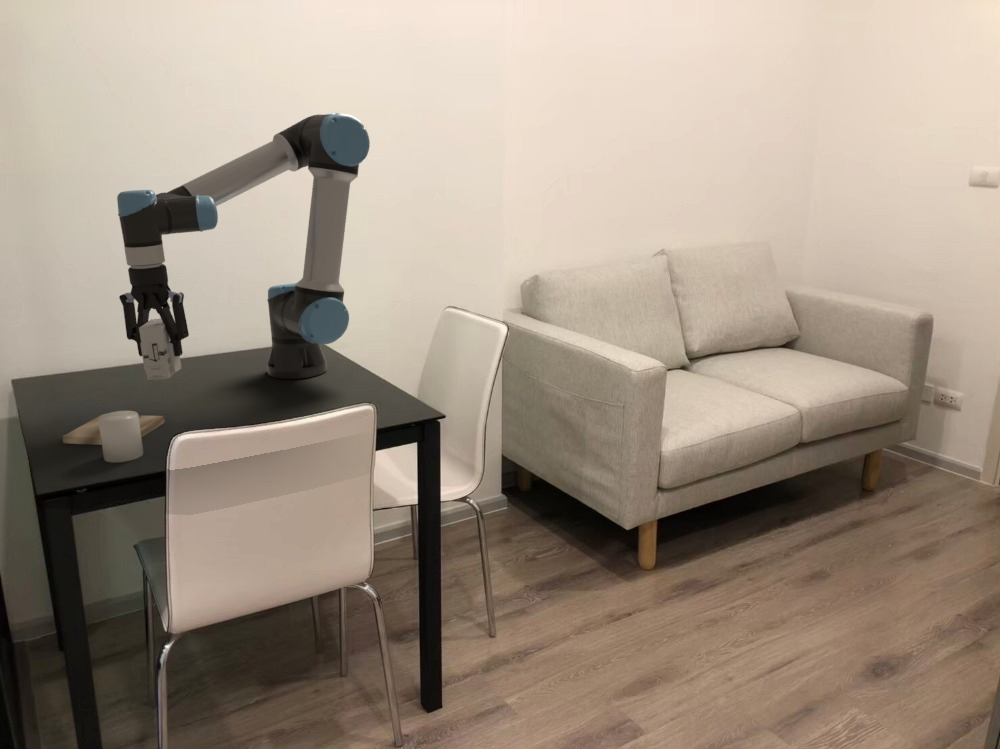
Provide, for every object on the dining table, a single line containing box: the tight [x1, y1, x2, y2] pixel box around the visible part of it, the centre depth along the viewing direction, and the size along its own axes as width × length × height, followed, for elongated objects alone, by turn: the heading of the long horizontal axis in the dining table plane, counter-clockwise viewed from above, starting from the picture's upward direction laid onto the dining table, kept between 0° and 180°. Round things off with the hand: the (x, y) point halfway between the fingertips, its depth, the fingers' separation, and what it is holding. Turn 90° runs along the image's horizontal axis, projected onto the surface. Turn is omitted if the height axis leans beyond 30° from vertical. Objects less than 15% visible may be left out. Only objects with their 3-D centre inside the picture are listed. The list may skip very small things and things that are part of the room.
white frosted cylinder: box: [98, 410, 144, 463], centre depth 160 cm, size 7×7×8 cm
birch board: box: [62, 413, 165, 446], centre depth 173 cm, size 14×14×2 cm
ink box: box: [139, 318, 176, 381], centre depth 181 cm, size 9×5×12 cm, turn 5°
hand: (163, 370), depth 183 cm, fingers closed on ink box, 6 cm apart
